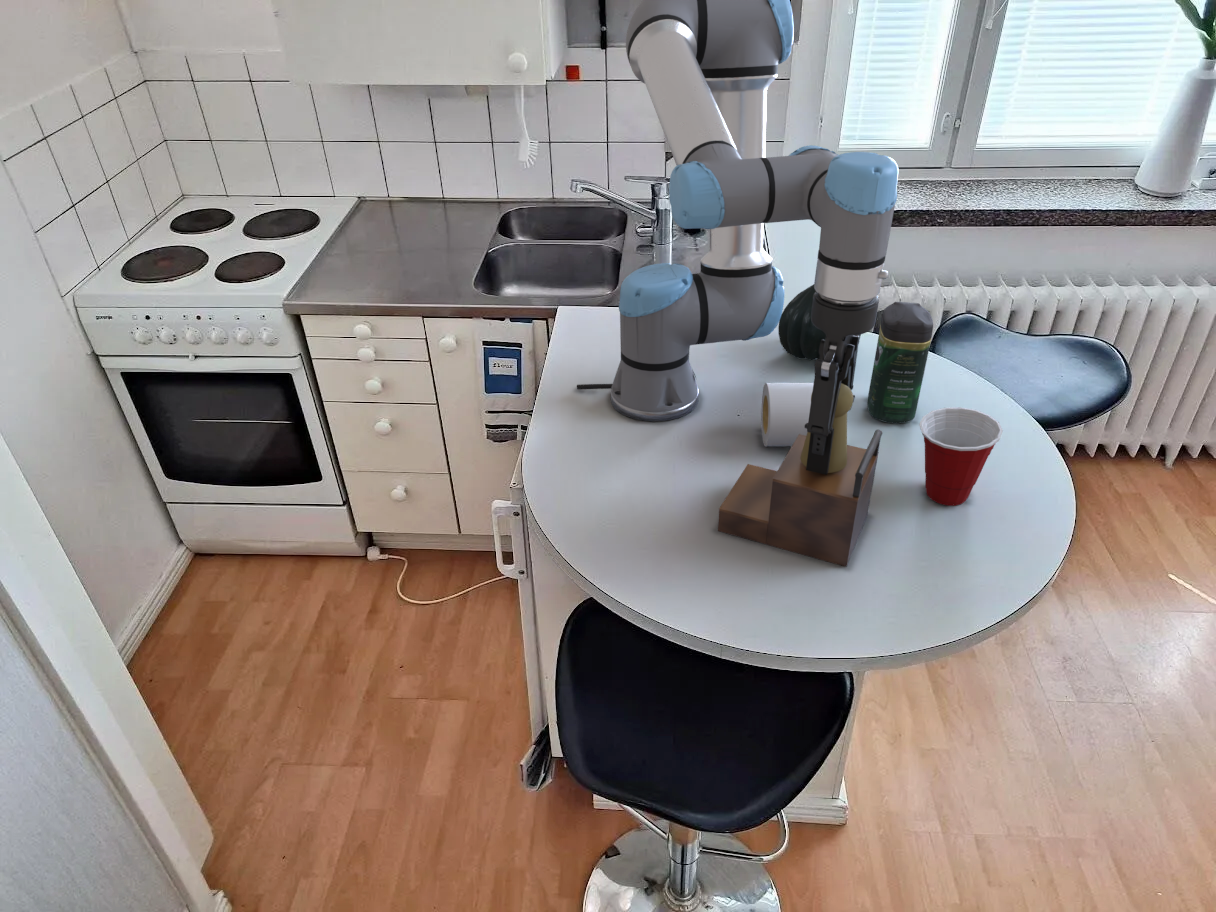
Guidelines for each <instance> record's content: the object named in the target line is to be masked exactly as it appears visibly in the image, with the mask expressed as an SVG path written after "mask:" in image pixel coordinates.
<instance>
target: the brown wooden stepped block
mask: <svg viewBox="0 0 1216 912" xmlns="http://www.w3.org/2000/svg"><path fill="white" fill-rule="evenodd" d="M882 436H883V431H882V430H881V429H875V430H874V433H873V434H872V437H871V439H870V441H869V443H868V445H867V448H863V447H858V446H854V445H850V444H847V465H846V466H845V468H844V469H842V470H840V471H837V472H833V473H827V475H825V474H820V473H816V472H812V471H808V470H806V466H805V465H804V464H803V463H802V462H801V459H800V457H801V454H802V450H803V446H804V443H805V439H806V435H801V434H799V435H798V437H797V438H796V440H795V442H794V443H793V445H792V446H790V448H789V450H788V452H787V453H786V455H785V457H784V459H783V461H782V462H781V464H780V466H779V467H778V468H777V470H774V469H772V468H771V469H770V468H766V467H762V466H758V465H754V464H750V463H747V464H746V466H745V467H744V469H743V471H742V472H741V473H740V475H739V477H738V478H737V480H736V482H735V483H734V485H733V486H732V488H731V489H730V491H729V492H728V494H727V495H726V496H725V498H724V500H723V502H722V503H721V505H720V506H719V508H718V525H717V531H718V532H719V533H723V534H727V535H731V536H735V537H738V538H742V539H745V540H748V541H753V542H755V543H756V542H757V543H759V544H763V545H766V546H769V547H773V548H777V549H781V550H785V551H788V552H791V553H795V554H798V555H802V556H806V557H810V558H813V559H815V560H819V561H820V560H821V561H825V562H828V563H830V564H834V565H838V566H842V567H845V568H847V567H848V564H849V562H850V560H851V557H852V555H853V552H854V550H855V548H856V546H857V543H858V540H859V538H860V536H861V533H862V530H863V527H864V525H865V523H866V520H867V518H868V514H869V509H870V503H871V498H872V492H873V486H874V482H875V481H874V480H875V475H876V470H877V463H878V458H879V453H880V452H879V450H880V446H881V445H880V444H881V439H882Z"/></svg>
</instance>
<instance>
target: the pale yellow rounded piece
mask: <svg viewBox="0 0 1216 912" xmlns="http://www.w3.org/2000/svg"><path fill="white" fill-rule="evenodd" d="M853 395H854V394H853V392H852V390H851V389H850V388H849V387H848V386H846V385H844V384H842V383H841V386H840V391H839V396H838V401H837V406H836V411H835V416H834V421H833V426H832V427H833V429H834V435H833V442H832V449H831V456H830V463H829V470H828V473H833V472H837V471H840V470H842V469H844V468H845V466H846V465H847V445H848V412H850V411H851V409H852V407H853V403H854V402H853ZM811 399H812V395H811ZM810 434H811V433H809V432H807V436H806V439H805V443H804V446H803V450H802V454H801V457H800V459H801V462H802V463H803V464H804V465H805V466H807V458H808V450H809V442H810Z"/></svg>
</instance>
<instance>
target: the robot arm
mask: <svg viewBox="0 0 1216 912" xmlns="http://www.w3.org/2000/svg"><path fill="white" fill-rule="evenodd" d="M793 15H794V14H793V8H792V3H791V1H790V0H641V1H640V2H639V4H638V5H637V7H636V8H635V10H634V12H633V14H632V16H631V18H630V20H629V23H628V26H627V30H626V36H625V52H626V57H627V60H628V63H629V66H630V68H631V71H632V73H633V75H634V77H636V79H637V80H638V81H640V82H641V83H643V84H644V85H645V87H646V90H647V92H648V94H649V97H650V101H651V102H652V105H653V108H654V111H655V113H656V116H657V118H658V121H659V124H660V126H661V129H662V131H663V134H664V137H665V139H666V141H667V145H668V146H669V150H670V152H671V155H672V157H673V160H674V162H675V165H676V166H674V168H673V169H672V171H671V173H670V177H669V184H668V196H669V197H668V199H669V204H670V209H671V210H670V211H671V216H672V219H673V221H674V222H675V224H676V225H677V226H678V227H680V228H681V229H684V230H687V229H689V230H691V229H692V230H693V229H705V230H709V250H708V251H707V252H706V253H705V254H704V255H703V256H702V257H701V259H700V270H699V271H700V272H698V273H697V272H696V273H692V271H691V269H690V268H689V267H688V266H686V265H684V264H680V263H670V262H660V263H654V264H650V265H645V266H642V267H640V268H637V269H635V270H634V271H632V272H631V273H629V274H628V275H627V276H626V277H625V278H624V280H623V281H622V282H621V284H620V291H619V303H618V311H619V330H620V331H619V332H620V334H619V337H620V341H619V342H620V361H619V364H618V367H617V370H616V373H615V375H614V378H613V381H612V383H587V384H586V383H583V384H581V383H580V384H576V390H610V403H611V405H612V406H613V408H614V409H615V410H616V411H617V412H618V413H620V414H621V415H624V416H626V417H628V418H631V419H635V420H638V421H644V422H645V421H646V422H664V421H671V420H676V419H679V418H682V417H684V416H686V415H688V414H690V413H691V412H692V411H694V410H695V409H696V408H697V406H698V404H699V393H700V392H699V387H698V383H697V377H696V376H697V375H696V374H695V372H694V369H693V367H692V365H691V362H690V348H691V346H695V345H707V344H715V343H725V342H733V341H744V342H745V341H750V340H753V339H758V338H764V337H768V336H769V335H770V334H772V333H773V332H774V331H775V329H776V328H777V326H779V321H780V318H781V315H782V313H783V311H784V305H785V286H783V285H784V278H783V274H782V272H781V270H780V269H779V268H777V267H776V266H774V265H773V258H772V257H771V256H770V254H768V252H767V251H766V250H765V249H764V224H772V223H782V222H783V223H785V222H794V221H797V222H798V221H806V220H807V221H808V220H809V221H811V222H813V223H814V224H815V225H817V227H819V228H820V234H819V245H818V247H819V248H818V251H817V259H816V265H815V274H814V282H813V284H814V289H815V290H816V292H815V293H814V295H813V303H812V311H811V321H812V323H813V325H814V326H815V327H817V328H818V329H820V330H822V331H823V332H824V333H825V334H826V336H825V340H821V343H820V347H819V354H820V359H815V361H814V365H813V366H814V375H813V377H814V378H813V383H814V385H813V392H812V399H811V406H810V413H809V421H808V423H806V424H805V428H806V429H807V432H809V433H811V434H810V442H809V450H808V458H807V466H806V470H808V471H812V472H816V473H820V474H825V475H827V473H828V470H829V463H830V456H831V449H832V442H833V435H834V429H833V427H832V426H833V421H834V416H835V411H836V406H837V401H838V396H839V391H840V386H841V383H842V384H844V385H846V386H848V387H849V388H850V389H851V391H852V390H854V378H855V373H856V366H857V358H858V351H859V345H860V340H861V336H860V334H861V335H864V334H866V333H869V332H870V331H872V329H873V328H874V327H875V326H876V322H877V315H878V309H879V304H880V298H879V297H878V296H879V294H880V293H881V286H882V281H883V280H887V279H888V278H889V271H888V270H883V268H884V266H885V262H886V256H887V252H888V246H889V240H890V235H891V229H892V224H893V219H894V212H895V206H896V203H897V199H898V189H897V188H898V178H899V166H898V164H897V162H896V161H895V159H893V158H892V157H890V156H887V155H886V154H885V155H884V154H878V153H877V152H876V153H875V152H869V151H851V152H849V151H848V152H844V153H840V154H839V153H836V152H835V151H833V150H830V149H829V148H826V147H823V146H819V145H812V144H811V145H804V146H801V147H799V148H797V149H795V150H794V151H793V152H791V153H789V154H788V155H781V156H772V157H771V156H769V157H766V142H767V141H766V139H767V137H766V136H767V135H766V134H767V133H766V132H767V130H766V129H767V99H768V97H767V94H768V91H767V90H768V88H769V87H770V86H771V84H772V83H773V82H774V81H775V80H776V79H777V77H778V71H779V70H778V68H779V65H781V64H782V63H785V62H786V61H787V60H788V58H789V57H790V55H791V52H792V46H793V44H794V36H795V35H794V34H795V33H794V32H795V28H794V27H795V25H794V16H793ZM855 398H856V395H855V394H853V403H854V402H855Z"/></svg>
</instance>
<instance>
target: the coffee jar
mask: <svg viewBox="0 0 1216 912" xmlns="http://www.w3.org/2000/svg"><path fill="white" fill-rule="evenodd" d="M933 320H934V319H933V317H932V315H931V313H930V312H929V310H927V309H926V308H925V307H923V306H922V305H921V304H920V303H917V302H909V301H894V302H893V303H891V304H889V305H888V306H886V307H885V308H884V309H883V311H882V313H881V318H880V324H879V331H878V338H877V343H876V349H875V355H874V360H873V366H872V372H871V377H870V383H869V389H868V394H867V402H866V403H867V404H866V405H867V410H868V413H869V415H870V416H871V417H872V418H873V419H875V420H878V421H881V422H884V423H887V424H903V423H909V422H912V421H913V420H914V419H915V417H916V413H917V409H918V404H919V399H920V394H921V389H922V385H923V380H924V376H925V370H926V365H927V361H928V357H929V351H930V346H931V343H932V337H933V330H934V321H933Z"/></svg>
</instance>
